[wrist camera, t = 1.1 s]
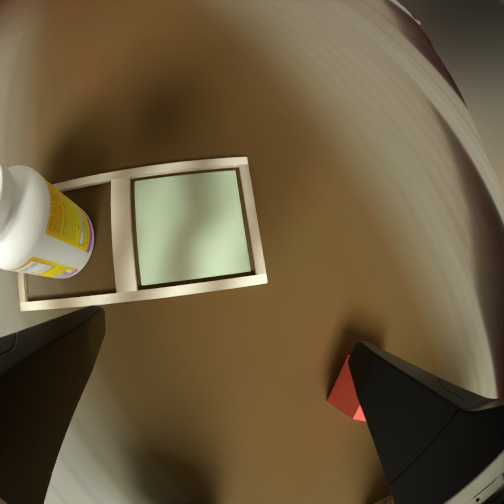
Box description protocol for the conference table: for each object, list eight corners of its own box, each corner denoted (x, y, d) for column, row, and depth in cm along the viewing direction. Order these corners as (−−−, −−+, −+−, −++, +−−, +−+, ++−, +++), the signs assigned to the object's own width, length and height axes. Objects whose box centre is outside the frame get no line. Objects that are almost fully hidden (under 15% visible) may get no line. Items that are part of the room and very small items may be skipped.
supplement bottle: (67, 193, 21) (-6, 122, 9) (110, 235, 22) (36, 176, 9) (27, 248, 20) (-63, 213, 7) (68, 295, 20) (-30, 288, 8)
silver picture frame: (23, 310, 19) (20, 311, 18) (23, 194, 20) (20, 193, 20) (266, 283, 24) (267, 282, 23) (245, 159, 25) (246, 156, 25)
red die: (363, 409, 23) (395, 427, 18) (326, 400, 23) (356, 421, 18) (382, 367, 25) (418, 377, 19) (348, 354, 24) (382, 365, 19)
